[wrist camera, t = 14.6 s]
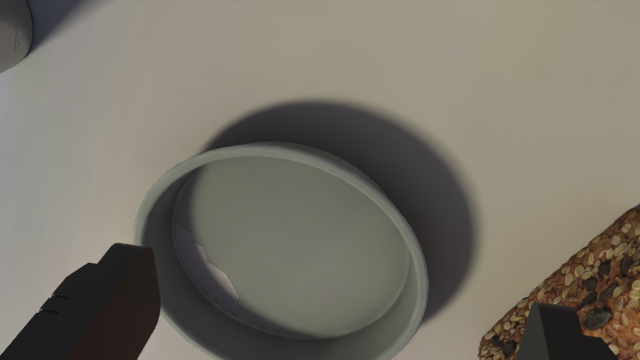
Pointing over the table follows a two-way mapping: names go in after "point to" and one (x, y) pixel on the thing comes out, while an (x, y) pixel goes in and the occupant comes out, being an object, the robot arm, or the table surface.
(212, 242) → the cake pan
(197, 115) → the table surface
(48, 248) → the table surface
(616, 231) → the bread
